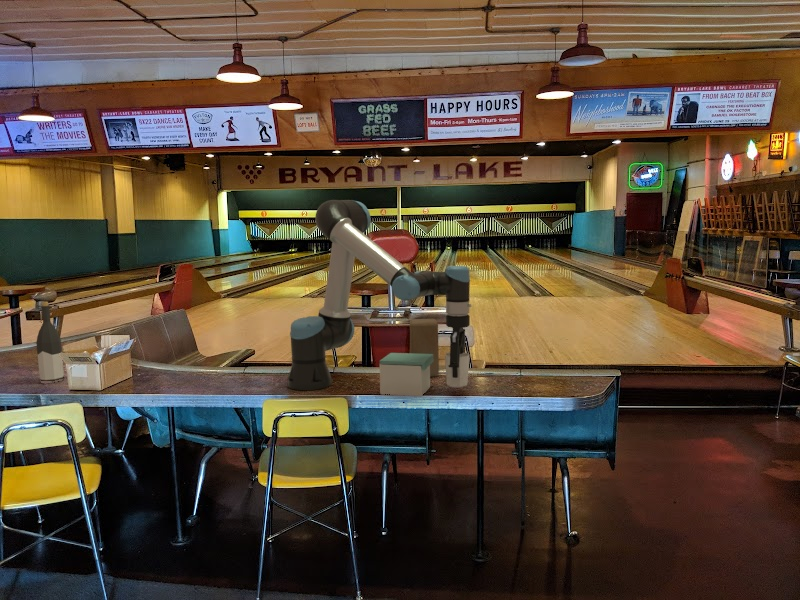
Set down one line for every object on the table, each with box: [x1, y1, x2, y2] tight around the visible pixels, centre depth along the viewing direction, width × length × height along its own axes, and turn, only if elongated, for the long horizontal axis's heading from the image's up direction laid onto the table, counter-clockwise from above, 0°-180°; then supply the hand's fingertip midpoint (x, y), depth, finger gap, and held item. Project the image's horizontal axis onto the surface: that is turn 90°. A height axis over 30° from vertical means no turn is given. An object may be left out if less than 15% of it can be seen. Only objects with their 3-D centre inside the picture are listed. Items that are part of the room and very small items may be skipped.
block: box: [409, 318, 440, 378], centre depth 231 cm, size 10×10×20 cm
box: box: [379, 363, 431, 397], centre depth 210 cm, size 14×12×10 cm
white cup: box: [444, 351, 470, 388], centre depth 205 cm, size 8×8×10 cm
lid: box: [379, 352, 433, 370], centre depth 210 cm, size 15×13×2 cm
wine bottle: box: [35, 301, 65, 381], centre depth 235 cm, size 8×8×30 cm
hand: (457, 383), depth 206 cm, fingers closed on white cup, 7 cm apart
